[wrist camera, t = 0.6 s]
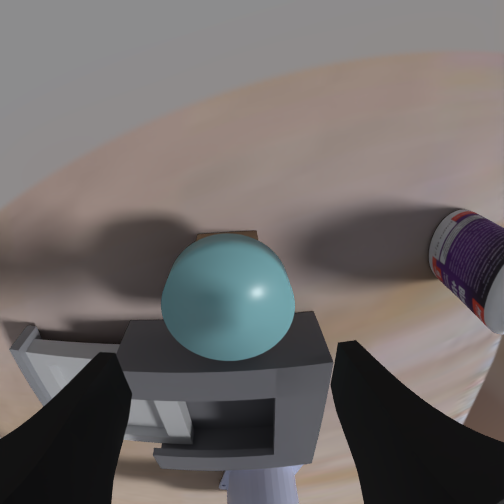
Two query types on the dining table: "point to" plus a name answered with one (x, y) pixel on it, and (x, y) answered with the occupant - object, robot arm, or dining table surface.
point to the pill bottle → (472, 264)
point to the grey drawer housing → (234, 396)
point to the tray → (72, 362)
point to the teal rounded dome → (228, 298)
